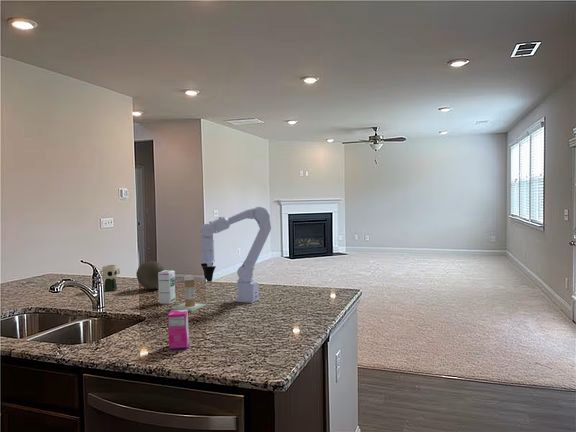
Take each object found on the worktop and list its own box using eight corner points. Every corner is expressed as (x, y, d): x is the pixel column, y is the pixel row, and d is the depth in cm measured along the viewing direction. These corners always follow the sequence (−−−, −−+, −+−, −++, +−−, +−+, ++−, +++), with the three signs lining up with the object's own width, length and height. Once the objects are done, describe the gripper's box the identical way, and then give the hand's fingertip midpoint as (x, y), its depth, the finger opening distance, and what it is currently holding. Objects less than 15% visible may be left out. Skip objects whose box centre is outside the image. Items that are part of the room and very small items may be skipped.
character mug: (104, 293, 229) (103, 267, 229) (97, 291, 234) (96, 266, 234) (123, 289, 238) (122, 265, 237) (116, 287, 242) (116, 263, 242)
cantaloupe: (144, 286, 244) (144, 259, 243) (169, 287, 242) (168, 259, 241) (132, 292, 230) (131, 263, 229) (158, 292, 228) (157, 263, 227)
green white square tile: (206, 305, 200) (206, 303, 200) (192, 311, 189) (192, 309, 189) (185, 303, 204) (185, 302, 204) (170, 309, 193) (170, 307, 193)
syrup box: (170, 303, 203) (169, 272, 203) (158, 303, 205) (157, 271, 204) (176, 301, 209) (175, 270, 208) (164, 300, 210) (163, 269, 209)
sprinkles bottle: (191, 303, 200) (191, 273, 199) (197, 305, 197) (196, 275, 196) (182, 305, 197) (182, 275, 196) (188, 307, 194) (187, 276, 193)
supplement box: (171, 344, 147) (170, 309, 147) (189, 343, 148) (188, 309, 147) (168, 350, 142) (167, 314, 141) (187, 349, 142) (186, 313, 142)
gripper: (197, 249, 209) (198, 277, 210) (200, 252, 195) (200, 283, 196) (212, 248, 211) (213, 276, 212) (216, 251, 197) (217, 282, 198)
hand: (208, 280), depth 204 cm, fingers open, 7 cm apart
